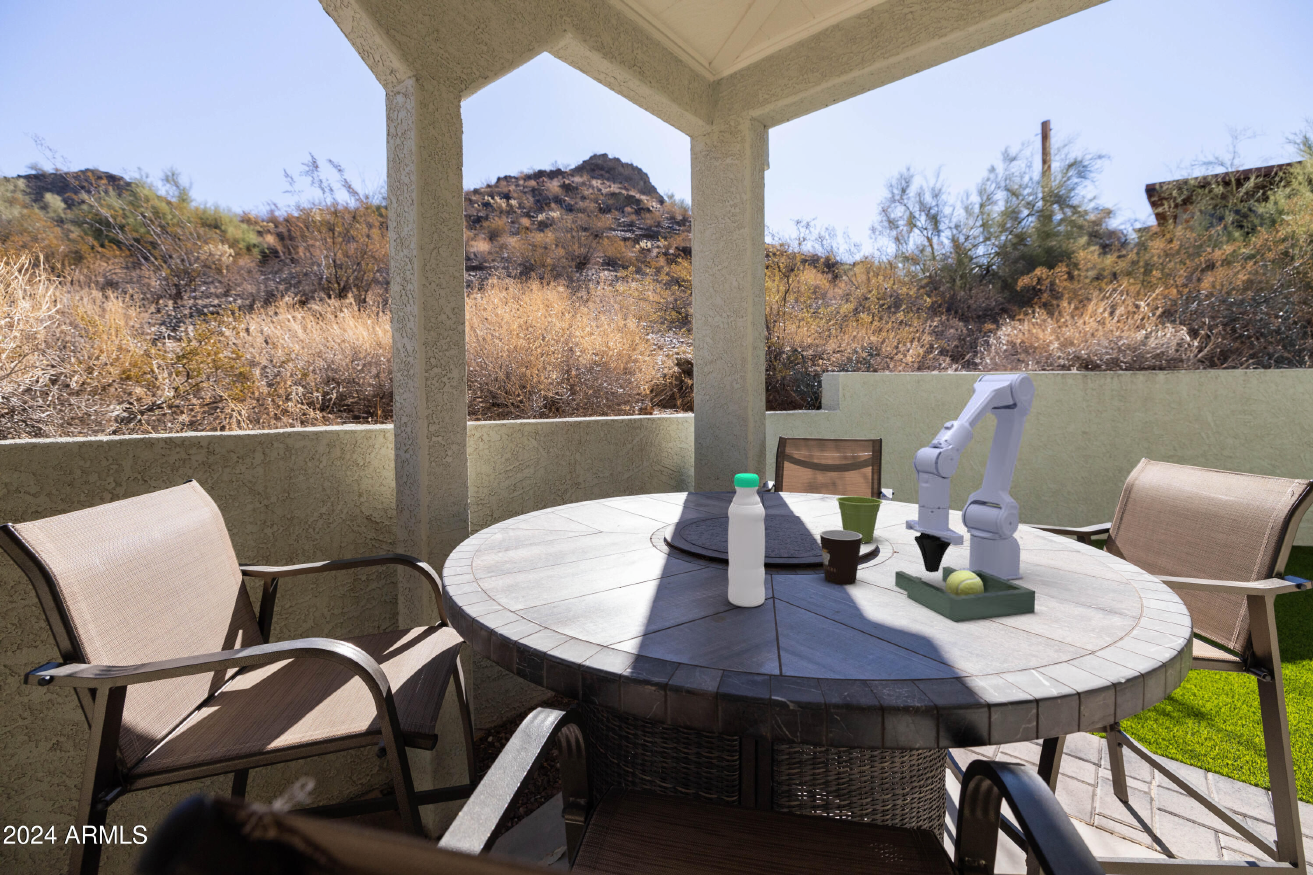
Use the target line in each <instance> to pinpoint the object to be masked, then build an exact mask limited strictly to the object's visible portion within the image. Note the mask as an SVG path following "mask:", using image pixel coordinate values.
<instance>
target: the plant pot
mask: <svg viewBox="0 0 1313 875" xmlns="http://www.w3.org/2000/svg"><path fill="white" fill-rule="evenodd" d="M836 501H837V503H838V509H839V510H840V518H841V526H842V530H846V531H852V532H856V533H859V534H861V535H862V541H861V543H862V544H864V543H863V542H866V543H868V542H870V543H872V542H873V538H874V533H875V528H876V524H877V520H878V519H877V518H878V515H879V514H878V513H879V511H880V507H881V504H883V500H881V499H880V498H879V499H878V498H874V497H870V496H869V497H866V496H852V495H851V496H850V495H849V496H840V497H836ZM871 541H872V542H871Z"/></svg>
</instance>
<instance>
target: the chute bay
mask: <svg viewBox="0 0 1313 875" xmlns="http://www.w3.org/2000/svg"><path fill="white" fill-rule="evenodd" d="M959 570H960V569H956V568H953V567H952V566H942V576H941V577H942V579H941V580H942V582H944V583H946V581H947V579H948V577H949V576H950V575H951V574H952V573H954V572H956V571H959ZM972 573H974V574H976V576H978V577H979V578H980V579H981V581H982V583H983V586H984V593H981V594H972V595H963V596H956V595H953V594H951V593H949V592H947V591H946V589H942V588H940V587H938V586H936V585H934V584H931V583H930V582H927V581H925V580H923V579H922V578H921V577H919V576H914V575H912V574H910V573H907V572H905V571H903V570H897V571H895V574H894V575H895V576H894V577H895V578H894V580H895V584H894V586H895V587H897V588H900V589H902V590H903V591H905V592H906V596H907V598H908V599H910V600H912V601H914V602H916V603H918V604H920V605H922V606H924V607H926V608H927V609H930V610H931V611H933V612H935V613H938V614H939V615H941V616H943V617H946V618H947V619H949V620H951V621H952V622H955V623H958V622H966V621H974V620H983V619H989V618H999V617H1007V616H1008V617H1009V616H1014V615H1015V616H1017V615H1023V614H1031V613H1033V614H1034V613H1035V609H1036V607H1035V606H1036V605H1035V604H1036V590H1033V589H1031V588H1028V587H1026V586H1023V585H1020V584H1018V583H1016V582H1013V581H1010V580H1009V579H1007V580H1005V579H1002V578H1000V577H997V576H995V575H992V574H989V573H987V572H984V571H981V570H975V571H972Z"/></svg>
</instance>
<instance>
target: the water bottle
mask: <svg viewBox="0 0 1313 875" xmlns="http://www.w3.org/2000/svg"><path fill="white" fill-rule="evenodd" d="M733 485H734V488H735V490H736V491H735V492H736V493H735V494H734V497H733V498H732V502H731V504H730V505H729V507H728V511H727V512H728V513H727V515H728V528H727V530H728V533H727V548H728V549H727V551H728V555H727V556H728V569H727V570H728V571H727V575H728V588H727V597H728V601H729V602H730V603H731V604H732V605H734V606H737V607H741V608H754V607H759V606H760V605H762V604H764V602H765V599H766V595H765V594H766V590H765V577H766V575H765V573H766V572H765V566H764V565H765V553H766V552H765V551H766V535H765V534H766V532H765V520H764V519H765V518H766V517H765V516H766V510H765V508H764V506H763V504H762V502H761V499H760V497H759V495H758V492H757V491H758V489H759V485H760V477H759V476H758V474H756V473H747V472H746V473H738V474H735V475H734V477H733Z"/></svg>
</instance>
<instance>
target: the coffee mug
mask: <svg viewBox="0 0 1313 875" xmlns="http://www.w3.org/2000/svg"><path fill="white" fill-rule="evenodd" d="M819 536H820V538H819V539H820V547H821V556H822V566H823V574H824V576H823V577H824V580H825V582H827V583H829V584H832V585H837V586H850V585H854V584H855V583H856V582H857V574H858V570H859V560H860V554H861V546H862V544H861V541H862V535H861V534H859V533H856V532H852V531H846V530H843V529H829V530H823V531H821V532H820V533H819Z"/></svg>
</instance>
